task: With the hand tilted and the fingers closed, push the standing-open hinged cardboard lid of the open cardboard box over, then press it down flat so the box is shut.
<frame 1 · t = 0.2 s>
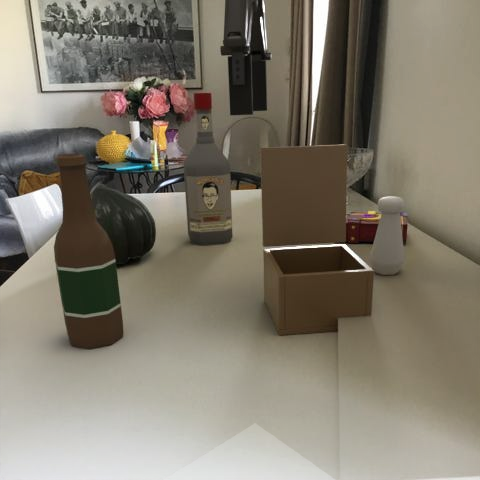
hand: (250, 113, 75), 28 cm above the table, tool pointing down, fingers open, 13 cm apart
open cardboard box: (313, 313, 83), on the table
decorative book: (367, 238, 122), on the table
salt shaker: (386, 272, 100), on the table
beer bottle: (96, 338, 77), on the table
cardboard lid: (304, 196, 83), point 16 cm above the table, hinge at 95.0°
liquor: (210, 240, 125), on the table
squash: (120, 260, 112), on the table
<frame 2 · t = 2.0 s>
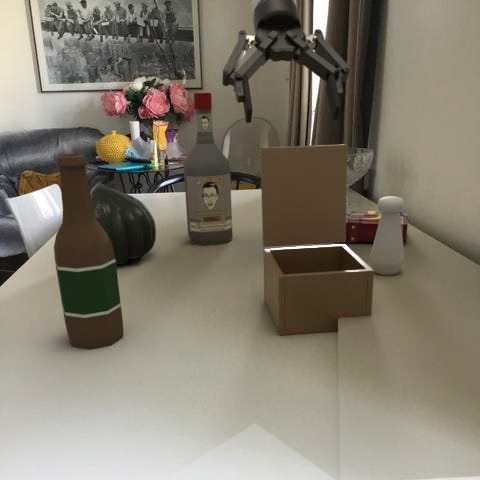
hand: (293, 115, 86), 27 cm above the table, tool tilted 45°, fingers open, 13 cm apart
nothing on the table moved.
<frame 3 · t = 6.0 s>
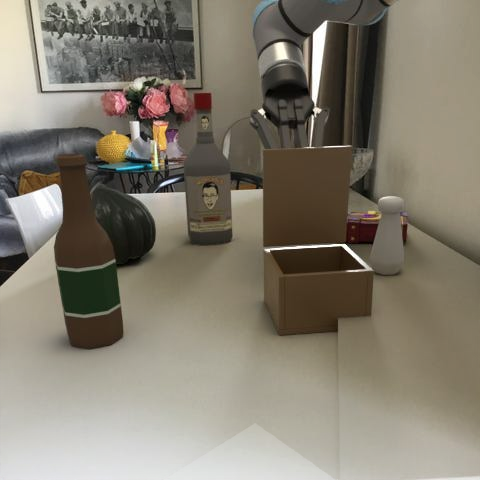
hand: (303, 201, 84), 15 cm above the table, tool tilted 45°, fingers closed
cardboard lid: (306, 197, 82), point 16 cm above the table, hinge at 84.7°, touching gripper
everything else where it was.
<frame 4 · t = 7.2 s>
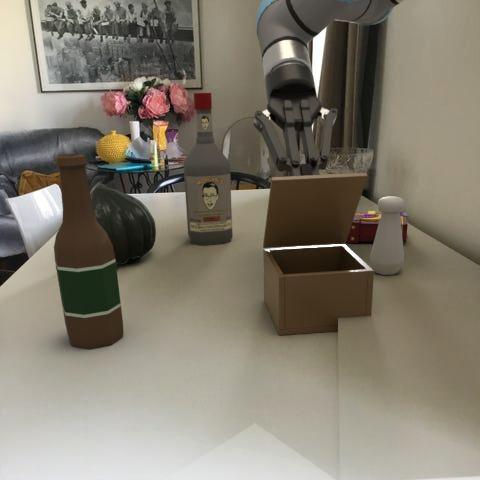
hand: (310, 207, 79), 15 cm above the table, tool tilted 45°, fingers closed
cardboard lid: (311, 212, 79), point 14 cm above the table, hinge at 52.4°, touching gripper
everything else where it was.
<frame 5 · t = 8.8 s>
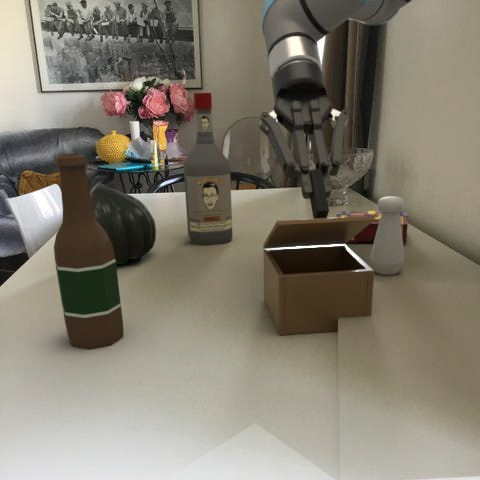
hand: (321, 216, 74), 15 cm above the table, tool tilted 45°, fingers closed
cardboard lid: (314, 233, 78), point 12 cm above the table, hinge at 26.8°, touching gripper
everything else where it was.
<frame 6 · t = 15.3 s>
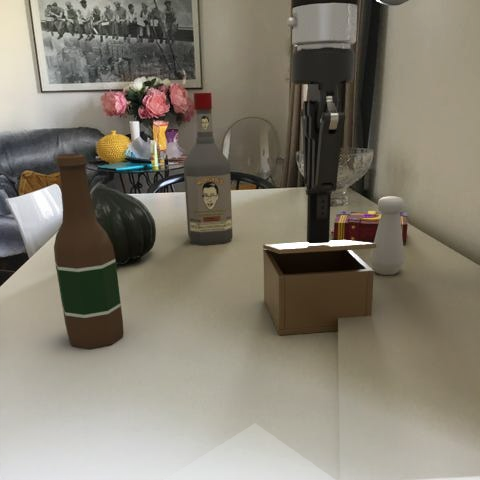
hand: (317, 241, 76), 11 cm above the table, tool pointing down, fingers closed
cardboard lid: (315, 246, 79), point 10 cm above the table, hinge at 12.2°, touching gripper
everything else where it was.
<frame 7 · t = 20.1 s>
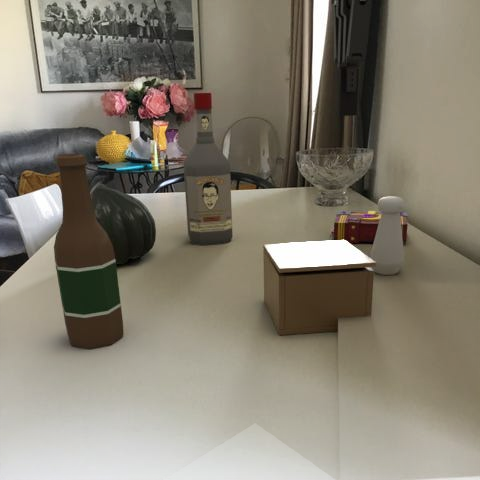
hand: (346, 115, 86), 26 cm above the table, tool pointing down, fingers closed
cardboard lid: (315, 254, 79), point 9 cm above the table, hinge at 2.5°
everything else where it was.
at the end: cardboard lid at +2° (first picture: +95°) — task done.
